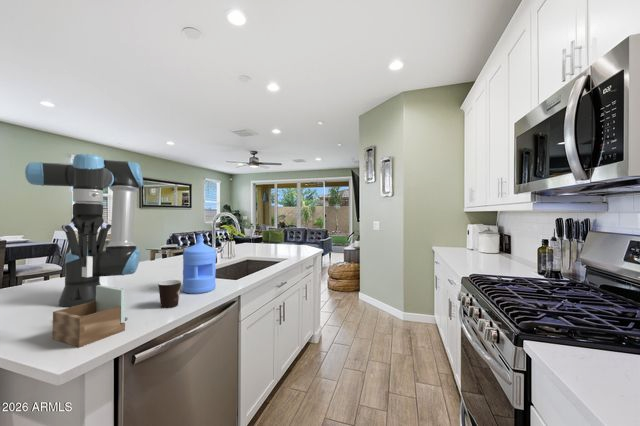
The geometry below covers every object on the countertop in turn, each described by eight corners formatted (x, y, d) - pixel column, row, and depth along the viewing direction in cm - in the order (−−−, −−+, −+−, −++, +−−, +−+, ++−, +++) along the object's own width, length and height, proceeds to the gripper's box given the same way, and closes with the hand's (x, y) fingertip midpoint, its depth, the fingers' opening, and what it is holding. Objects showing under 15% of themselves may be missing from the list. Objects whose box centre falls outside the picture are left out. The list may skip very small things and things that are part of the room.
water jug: (189, 286, 149) (189, 234, 149) (218, 285, 151) (219, 234, 151) (177, 294, 134) (178, 237, 134) (210, 294, 135) (211, 237, 135)
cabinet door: (120, 323, 92) (121, 290, 92) (95, 317, 97) (96, 285, 97) (128, 320, 94) (128, 288, 94) (103, 314, 99) (103, 284, 99)
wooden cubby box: (52, 338, 86) (52, 311, 86) (98, 323, 98) (99, 299, 98) (79, 347, 81) (79, 318, 81) (124, 330, 93) (125, 305, 93)
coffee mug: (170, 310, 113) (171, 285, 113) (152, 308, 114) (153, 284, 114) (189, 301, 124) (190, 279, 124) (173, 299, 126) (173, 277, 126)
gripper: (70, 202, 81) (69, 282, 81) (117, 204, 93) (116, 273, 93) (56, 202, 84) (54, 279, 84) (103, 204, 96) (102, 271, 96)
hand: (87, 276), depth 88 cm, fingers closed
